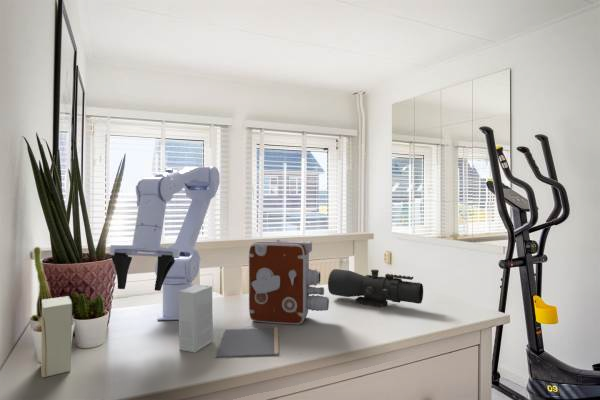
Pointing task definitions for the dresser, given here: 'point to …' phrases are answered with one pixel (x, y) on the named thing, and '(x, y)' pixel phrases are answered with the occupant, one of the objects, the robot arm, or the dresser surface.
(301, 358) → the dresser surface
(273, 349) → the rubber mat
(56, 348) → the skincare box
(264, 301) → the cine camera
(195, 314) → the skincare box
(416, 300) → the rifle scope
